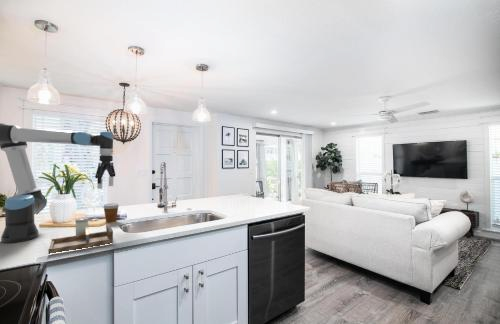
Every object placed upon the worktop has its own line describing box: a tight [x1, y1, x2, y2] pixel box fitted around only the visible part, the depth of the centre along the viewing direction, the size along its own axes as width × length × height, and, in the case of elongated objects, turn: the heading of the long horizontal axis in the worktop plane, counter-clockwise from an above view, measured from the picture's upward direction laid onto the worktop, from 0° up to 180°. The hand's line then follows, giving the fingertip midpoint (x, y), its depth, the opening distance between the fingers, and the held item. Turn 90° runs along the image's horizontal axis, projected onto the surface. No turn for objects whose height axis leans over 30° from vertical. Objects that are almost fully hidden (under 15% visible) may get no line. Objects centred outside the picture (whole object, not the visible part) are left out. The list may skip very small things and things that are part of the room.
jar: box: [74, 217, 90, 236], centre depth 139 cm, size 6×6×10 cm
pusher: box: [85, 227, 90, 242], centre depth 127 cm, size 1×14×6 cm, turn 35°
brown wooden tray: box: [47, 223, 114, 255], centre depth 126 cm, size 26×17×7 cm, turn 125°
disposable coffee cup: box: [103, 202, 119, 224], centre depth 170 cm, size 10×10×12 cm
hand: (105, 187), depth 161 cm, fingers open, 13 cm apart
